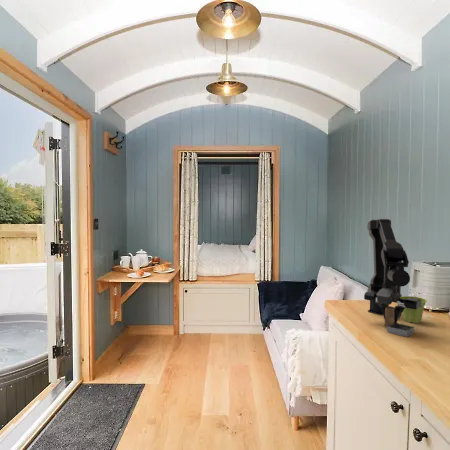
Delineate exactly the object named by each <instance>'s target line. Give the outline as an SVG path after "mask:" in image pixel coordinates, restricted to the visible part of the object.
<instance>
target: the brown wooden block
mask: <svg viewBox="0 0 450 450" xmlns="http://www.w3.org/2000/svg"><path fill="white" fill-rule="evenodd" d="M395 313H396V309H395V306H390V305H389V306H388V307H386V308H385V319H384V327H386V328H387V326H389V325H391V324H393V323H394V322H395Z"/></svg>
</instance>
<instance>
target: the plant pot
mask: <svg viewBox="0 0 450 450" xmlns="http://www.w3.org/2000/svg"><path fill="white" fill-rule="evenodd" d="M409 297H411V298H417V299H420V300H421V307H420V308H418V309H410V308H405V309H404V311H403V312H402V318H403V321H405V322H407V323H413V324H420V323H421V322H422V320H423V314H424V309H425V305H426V303H427V301H428V300H427V299H425V298H423V297H419V296H409V295H405V296H402V297H400V298H402V299H407V298H409Z"/></svg>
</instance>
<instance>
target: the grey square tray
mask: <svg viewBox="0 0 450 450" xmlns="http://www.w3.org/2000/svg"><path fill="white" fill-rule="evenodd" d="M386 332H387V333H389V334H394V335H398V336H400V337H405V338H408V337H410V336H412V335H413V334H415V326H411V325H407V324H403V323H400V322H397V323H395V322H394V323H393V324H391V325H389V326H387V327H386Z"/></svg>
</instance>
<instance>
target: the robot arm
mask: <svg viewBox="0 0 450 450" xmlns="http://www.w3.org/2000/svg"><path fill="white" fill-rule="evenodd" d="M392 227H393V226H392V221H391V219H389V218H377V219H370V221H368V222H367V231H368V235H369V236H370V238H371V240H372V242H373V243H372V244H373V245H372V246H373V272H374V273H373V276H372V277H371V278H370V280H369V281H370V283H369V285H368V287H367V291H366V292H364V295H363V299H364V300H365V301H369V309H368V310H367V312H368V313H369V312H370V313H374V314H378V315H382V316H383V318H384V320H385V308H386V307H388V306H390V305H392V303H395V304H397V305H396V306H394V307H395V309H396V313H395V323H399V322H398V321H399V320H400V318H401V316H402V315H403V311H404V309H405V308H410V309H418V308H420V307H421V300H420V299H417V298H411V297H409V298H407V299H402V298H400V297H403V296H402V295H403V294H402V293H401V289H402V287H405V286H408V284H409V283H410V281H411V276H410V274H409V273H408V272H407V271H406V270H405V268H408V267H409V262H410V261H409V257H408V254H407V252H406V250H404V247H403V244H401V243H400V242H398V241H397V239H396V237H395V236H396V235H395V234H394V232H393V231H394V230H393V228H392Z"/></svg>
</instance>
